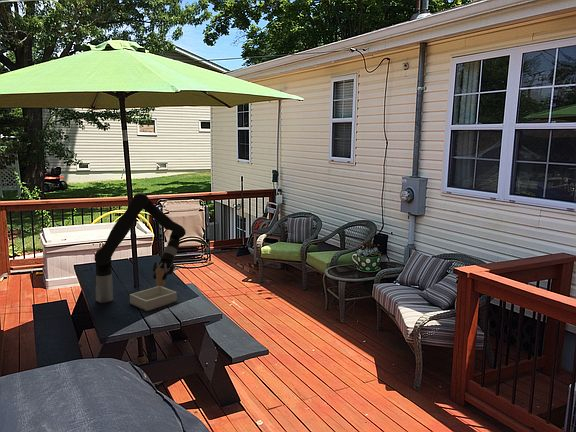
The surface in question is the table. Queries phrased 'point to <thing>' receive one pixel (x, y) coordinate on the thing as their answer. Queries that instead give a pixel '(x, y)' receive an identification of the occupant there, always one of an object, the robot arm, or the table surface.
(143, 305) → the bin
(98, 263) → the robot arm
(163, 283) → the jar
